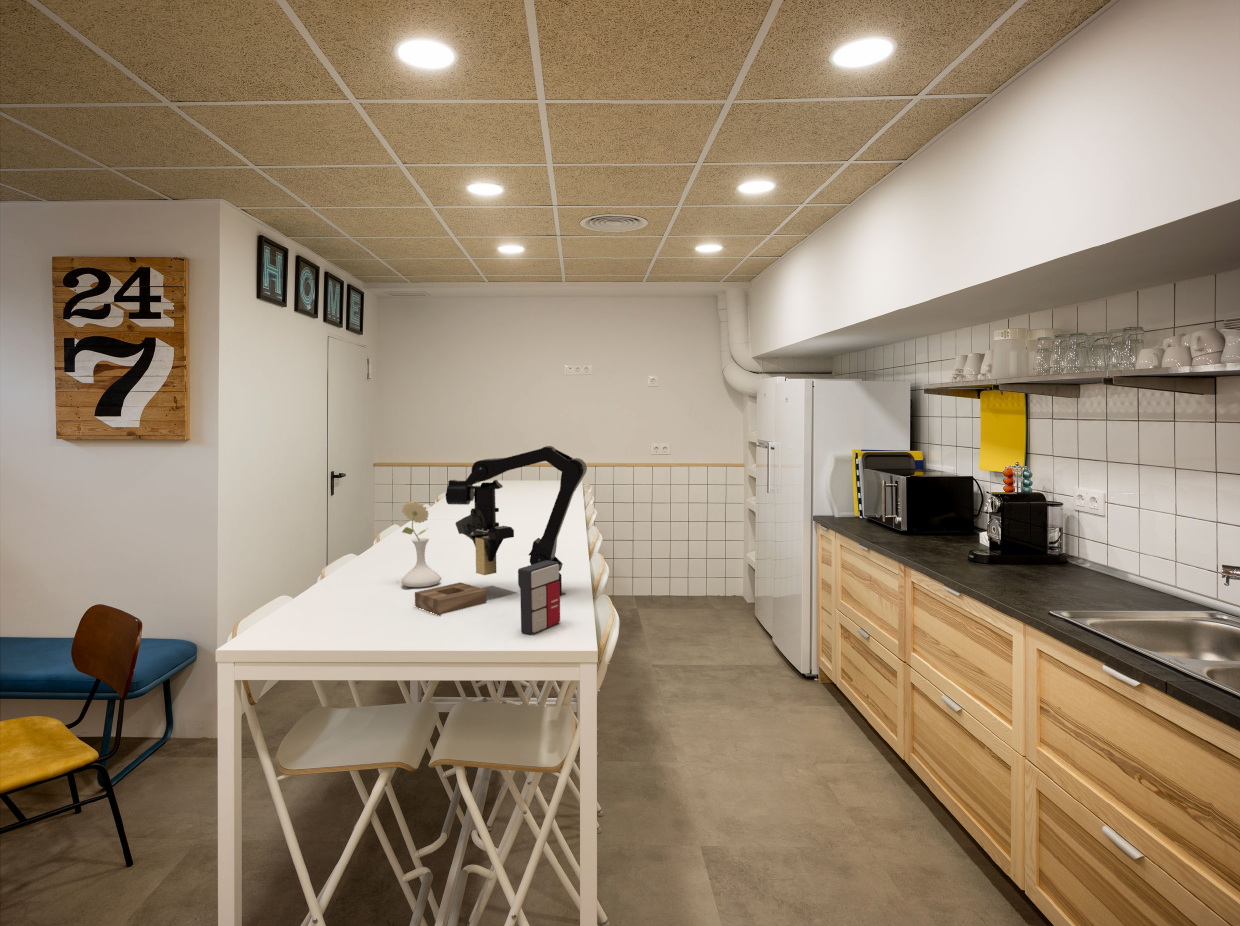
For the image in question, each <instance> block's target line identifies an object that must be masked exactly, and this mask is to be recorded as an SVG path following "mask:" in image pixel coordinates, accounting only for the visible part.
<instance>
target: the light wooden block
mask: <svg viewBox="0 0 1240 926" xmlns="http://www.w3.org/2000/svg"><path fill="white" fill-rule="evenodd" d="M482 538H488V536H482V537H476V538H475V543H476V547H475V573H476V574H478V575H481V576H487V575H492V574H497V554H496V555H495V557H494V559H493V561H492V562H489V560H488V553H487V544H486V542H485V541H484V540H483V539H482Z"/></svg>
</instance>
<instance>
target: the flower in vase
mask: <svg viewBox="0 0 1240 926" xmlns="http://www.w3.org/2000/svg"><path fill="white" fill-rule="evenodd" d="M401 512H402V513H403V515H404V516H405V517H406V518H407V519H408V520H409V521H411V528H410V527H409V526H406V527H404V528H403V530H402V531H401V532H402V533H403V534H408V535H412V534H413V533H414V536H415V537H416V538H413V539H411V542H412V543H413V545H414V547H415V551H416V563H415V565H414V566H413V568H412V569H410V570H409V571H408V572H407V573H406V574H404V576H403V577H402V579H401V582H400V583H401V584H402V585H403V586H406V587H409V588H426V587H433V586H434V585H436V584H439V583H440V582H441V580H442V576H441V575H440V574H439V573H438V572H437V571H435V570H434V569H432V568H431V567H430V566H428V565H427V563H426V555H425V554H426V553H425V552H426V548H427V547H426V546H427V544H428V542H429V540H430V538H427V537H418V536H420V535H422V534H423V533H425V532H426V531H427V530H428V529H429V527H427V529H422V530H421V531H420V532H419V533H418V534H417V533H416V530H414V523H419V524H421V523H424V522H425V521H426V522H427V521H428V518H429V514H430V513H429V511H428V510H427V507H426V506H424V505H423V504H422V503H421V504H420V503H419V502H418V501H415V502H414V501H408V502H406V503H404V504H403V505H402V510H401Z"/></svg>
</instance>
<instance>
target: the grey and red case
mask: <svg viewBox="0 0 1240 926" xmlns="http://www.w3.org/2000/svg"><path fill="white" fill-rule="evenodd" d="M559 573H560V571H559V563H558V562H555V561H548V560H546V561H543V562H539V563H536V564H533V565H531V564H530V565H526V566H522V567H519V568H518V571H517V582H518V583H517V584H518V587H519V589H520V591H519V593H520V632H521V633H522V634H527V635H534V634H536V633H538V632H541V631H543V630H546V629H548V628H550V627H552V626H555V625H557V624H559V623H560V621H561V596H560V582H559Z"/></svg>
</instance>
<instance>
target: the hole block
mask: <svg viewBox="0 0 1240 926" xmlns="http://www.w3.org/2000/svg"><path fill="white" fill-rule="evenodd" d="M482 588H483V587H478V586H474V585H471V584H467V583H464V582H456V583H452V584H447V585H443V586H437V587H433V588H428V589H423V590H419V591H415V592H414V604H415V606H416V607H418V608H417V609H419V608H421V609H424V610H426V611H425V612H427V611H429V612H428V613H430V612H432V613H431V614H433V613H434V614H433V615H435V614H437V615H436V616H438V615H443V614H447V613H451V612H456V611H461V610H463V609H467V608H471V607H476V606H480V605H484V604H487V601H486V590H485V589H482ZM415 606H414V607H415ZM416 607H415V608H416ZM421 609H420V610H421ZM424 610H423V611H424Z"/></svg>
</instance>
